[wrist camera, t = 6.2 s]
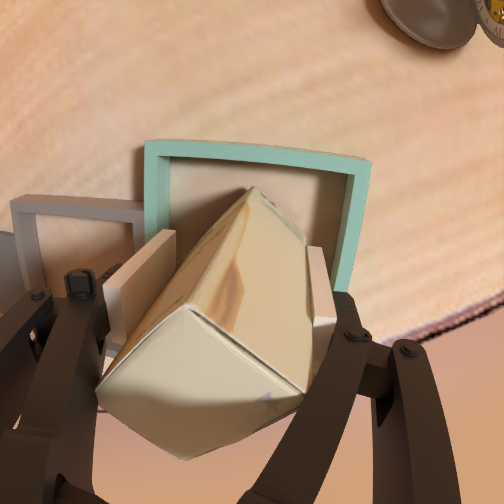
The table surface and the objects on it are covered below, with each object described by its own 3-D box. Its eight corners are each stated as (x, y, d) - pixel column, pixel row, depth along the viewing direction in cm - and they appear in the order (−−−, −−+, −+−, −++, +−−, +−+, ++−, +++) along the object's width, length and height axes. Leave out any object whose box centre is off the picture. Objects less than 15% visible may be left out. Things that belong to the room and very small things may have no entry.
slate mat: (-7, 305, 26) (-11, 307, 25) (-26, 226, 22) (-30, 228, 22) (47, 325, 25) (43, 328, 25) (27, 235, 22) (23, 237, 21)
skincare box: (254, 182, 18) (190, 287, 6) (308, 234, 18) (329, 398, 7) (183, 256, 20) (81, 400, 9) (234, 301, 21) (183, 467, 9)
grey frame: (49, 321, 25) (37, 333, 23) (26, 194, 20) (9, 200, 19) (165, 352, 24) (156, 368, 22) (157, 202, 19) (144, 211, 18)
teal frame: (161, 311, 22) (151, 326, 21) (159, 138, 18) (144, 140, 16) (328, 334, 22) (330, 352, 20) (363, 158, 17) (372, 162, 15)
